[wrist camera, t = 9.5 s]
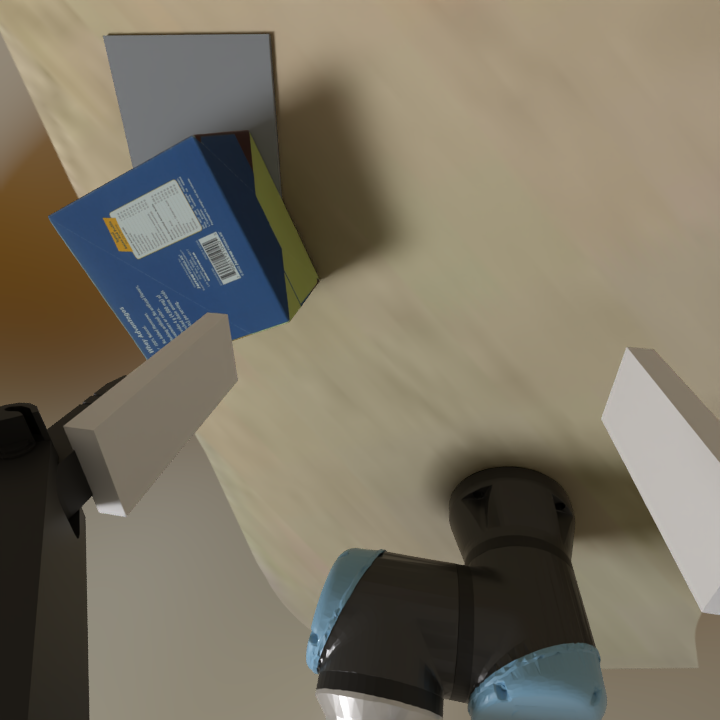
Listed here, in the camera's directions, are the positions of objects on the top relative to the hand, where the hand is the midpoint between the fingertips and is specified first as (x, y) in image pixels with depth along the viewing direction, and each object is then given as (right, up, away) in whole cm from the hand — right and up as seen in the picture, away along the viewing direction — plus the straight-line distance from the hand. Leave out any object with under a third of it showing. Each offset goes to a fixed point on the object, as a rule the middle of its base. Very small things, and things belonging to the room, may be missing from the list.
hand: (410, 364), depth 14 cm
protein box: (-9, +12, +22) cm, 27 cm away
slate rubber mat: (-17, +18, +27) cm, 36 cm away
